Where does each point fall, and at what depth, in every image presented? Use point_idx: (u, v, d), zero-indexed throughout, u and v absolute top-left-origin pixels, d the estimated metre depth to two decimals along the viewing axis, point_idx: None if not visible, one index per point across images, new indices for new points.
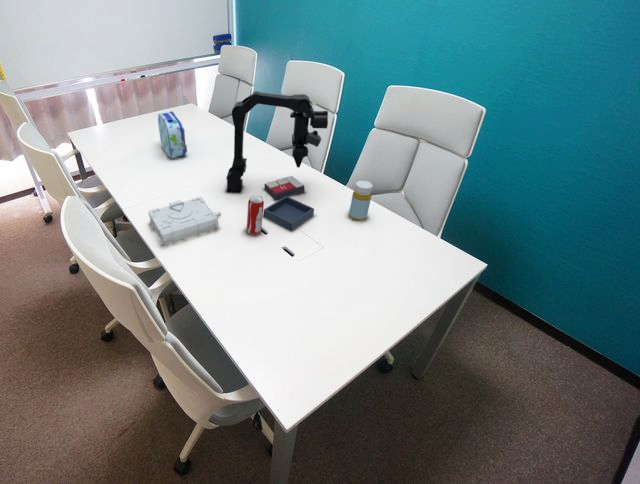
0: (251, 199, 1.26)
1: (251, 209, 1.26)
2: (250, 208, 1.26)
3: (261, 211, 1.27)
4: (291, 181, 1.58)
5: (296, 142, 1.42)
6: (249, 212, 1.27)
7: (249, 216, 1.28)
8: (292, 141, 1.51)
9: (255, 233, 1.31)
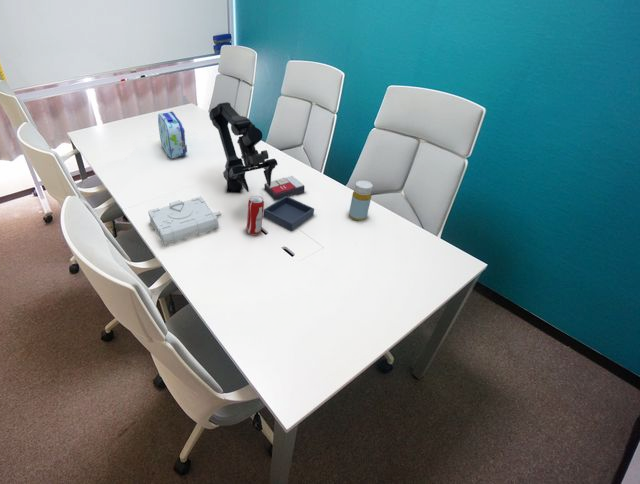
0: (251, 199, 1.26)
1: (251, 209, 1.26)
2: (250, 208, 1.26)
3: (261, 211, 1.27)
4: (291, 181, 1.58)
5: (245, 166, 1.35)
6: (249, 212, 1.27)
7: (249, 216, 1.28)
8: None
9: (255, 233, 1.31)
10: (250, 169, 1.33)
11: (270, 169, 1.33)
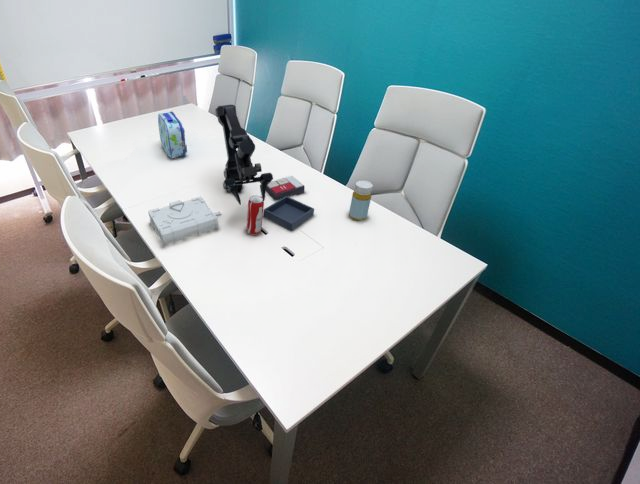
0: (251, 199, 1.26)
1: (251, 209, 1.26)
2: (250, 208, 1.26)
3: (261, 211, 1.27)
4: (291, 181, 1.58)
5: None
6: (249, 212, 1.27)
7: (249, 216, 1.28)
8: None
9: (255, 233, 1.31)
10: (244, 182, 1.32)
11: (264, 183, 1.31)
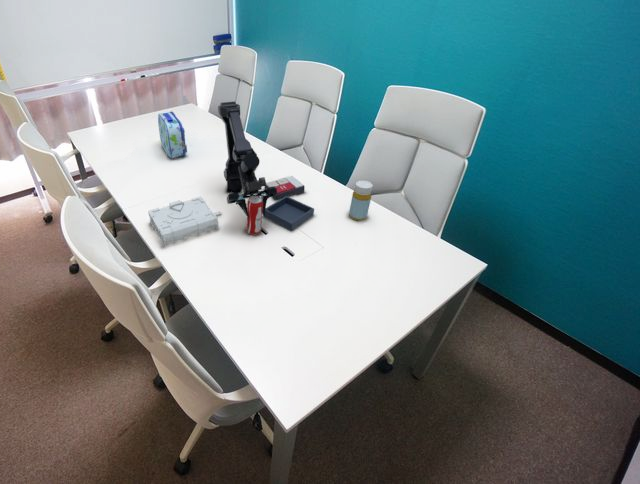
0: (250, 199, 1.25)
1: (250, 209, 1.25)
2: (249, 208, 1.26)
3: (260, 211, 1.26)
4: (291, 181, 1.58)
5: None
6: (248, 212, 1.27)
7: None
8: None
9: (255, 233, 1.31)
10: (248, 196, 1.29)
11: (265, 197, 1.28)
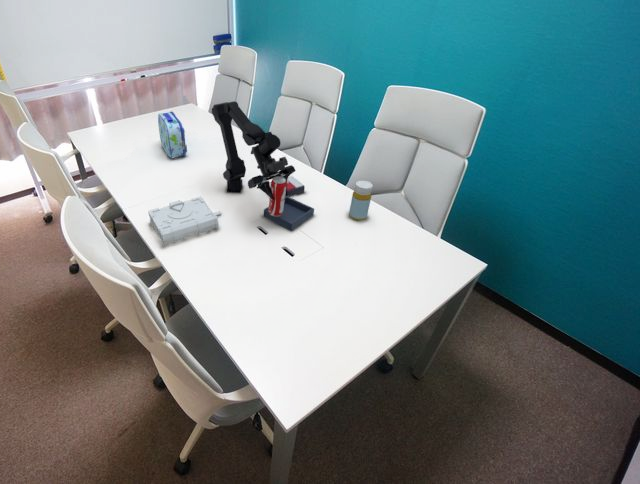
0: (274, 180, 1.25)
1: (276, 190, 1.25)
2: (275, 189, 1.25)
3: (285, 191, 1.27)
4: (291, 181, 1.58)
5: (262, 175, 1.30)
6: (273, 194, 1.27)
7: None
8: None
9: (279, 214, 1.32)
10: (269, 178, 1.29)
11: (285, 177, 1.29)
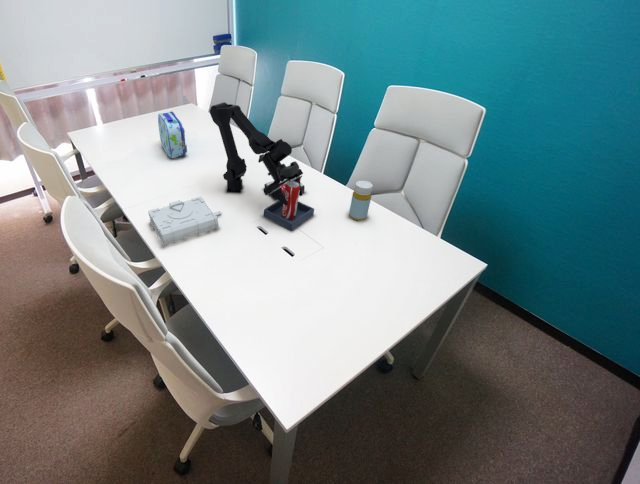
0: (289, 185, 1.32)
1: (291, 194, 1.32)
2: (291, 193, 1.32)
3: (298, 194, 1.35)
4: None
5: (275, 181, 1.36)
6: (289, 198, 1.34)
7: (289, 202, 1.34)
8: None
9: (293, 217, 1.39)
10: (282, 183, 1.35)
11: (299, 179, 1.37)
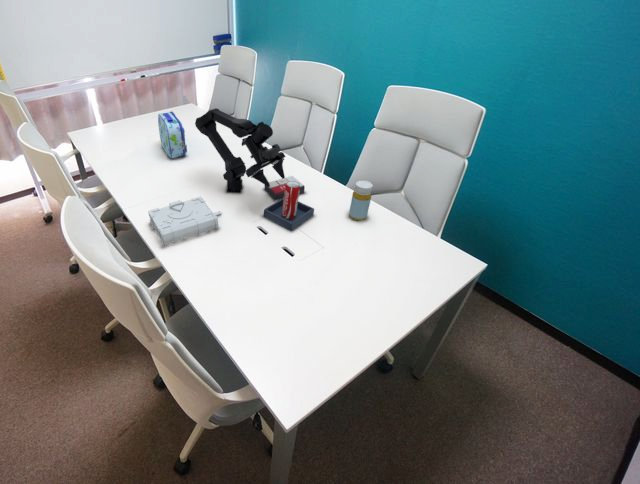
0: (289, 185, 1.32)
1: (291, 194, 1.32)
2: (290, 194, 1.32)
3: (298, 194, 1.35)
4: None
5: None
6: (289, 198, 1.34)
7: (289, 202, 1.34)
8: None
9: (293, 217, 1.39)
10: (264, 165, 1.38)
11: (281, 162, 1.40)
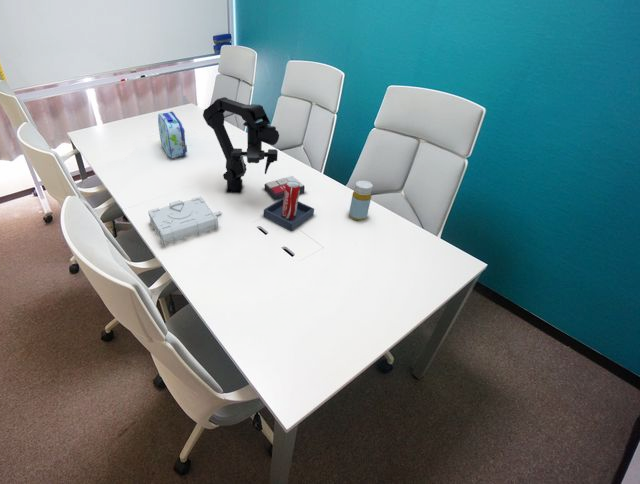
0: (289, 185, 1.32)
1: (291, 194, 1.32)
2: (290, 194, 1.32)
3: (298, 194, 1.35)
4: None
5: None
6: (289, 198, 1.34)
7: (289, 202, 1.34)
8: None
9: (293, 217, 1.39)
10: None
11: (268, 162, 1.40)
